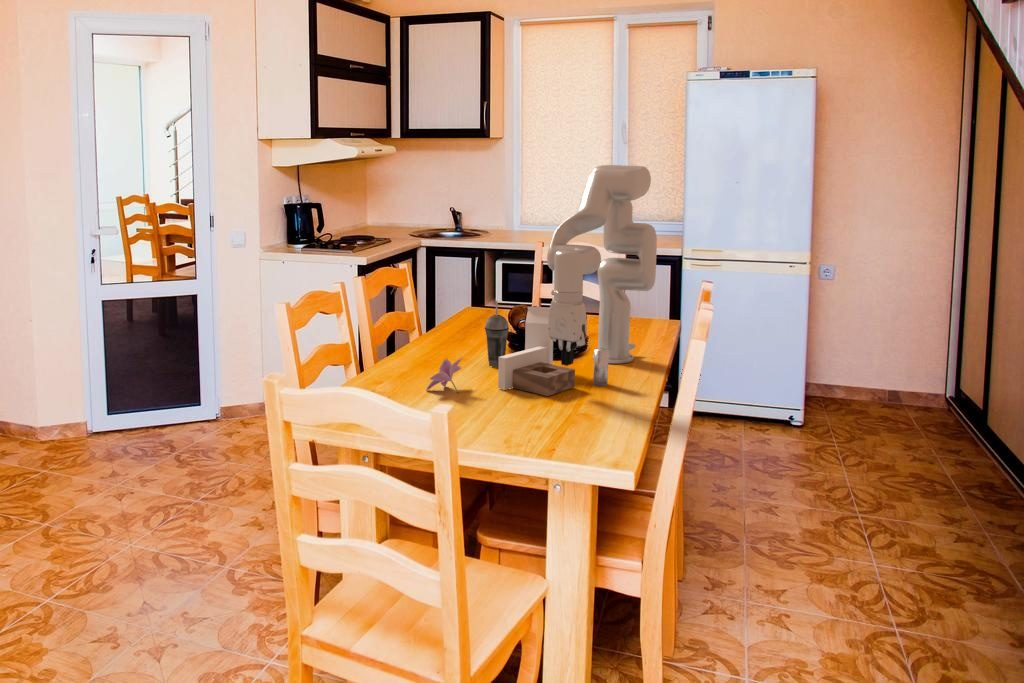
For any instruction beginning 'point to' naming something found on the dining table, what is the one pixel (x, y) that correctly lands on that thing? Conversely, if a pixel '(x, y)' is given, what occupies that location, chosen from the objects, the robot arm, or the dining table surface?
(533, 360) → the backstop wall
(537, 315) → the milk carton
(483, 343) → the dining table surface
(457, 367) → the lily
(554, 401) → the dining table surface
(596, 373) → the steel peg
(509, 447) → the dining table surface
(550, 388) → the socket block
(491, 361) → the beverage cup
